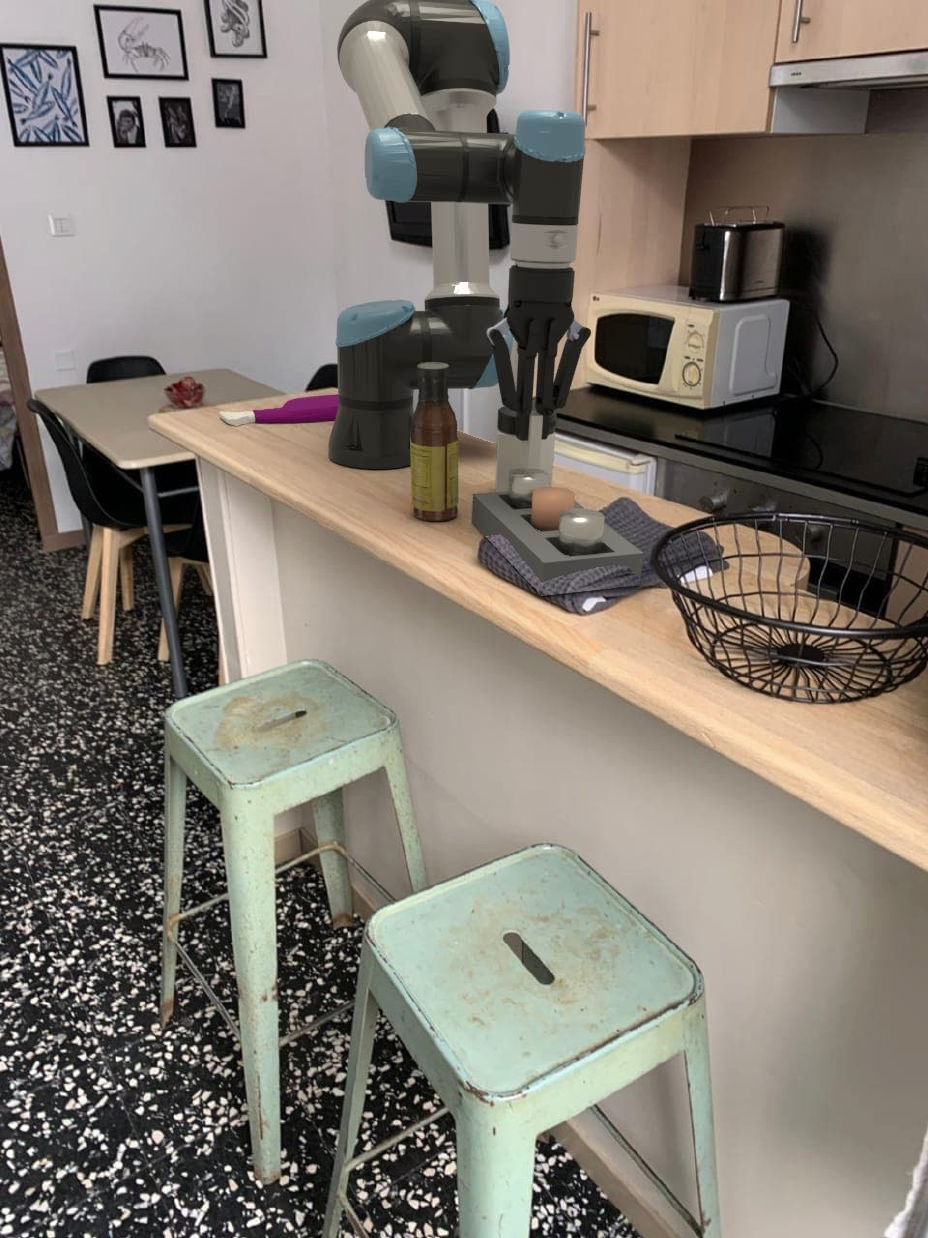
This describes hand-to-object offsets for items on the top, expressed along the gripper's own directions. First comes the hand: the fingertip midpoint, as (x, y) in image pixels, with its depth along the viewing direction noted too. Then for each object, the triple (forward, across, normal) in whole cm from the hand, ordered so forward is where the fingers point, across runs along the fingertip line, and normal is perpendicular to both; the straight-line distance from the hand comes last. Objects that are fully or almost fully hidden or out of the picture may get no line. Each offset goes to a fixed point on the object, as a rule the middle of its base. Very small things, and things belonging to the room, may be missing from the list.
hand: (529, 464), depth 117 cm
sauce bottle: (+9, -10, +8) cm, 16 cm away
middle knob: (+5, 0, -8) cm, 9 cm away
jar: (+9, +5, +14) cm, 17 cm away
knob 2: (+5, 0, -16) cm, 17 cm away
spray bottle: (+9, -20, +65) cm, 69 cm away
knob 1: (+5, 0, 0) cm, 5 cm away
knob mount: (+9, 0, -8) cm, 12 cm away
